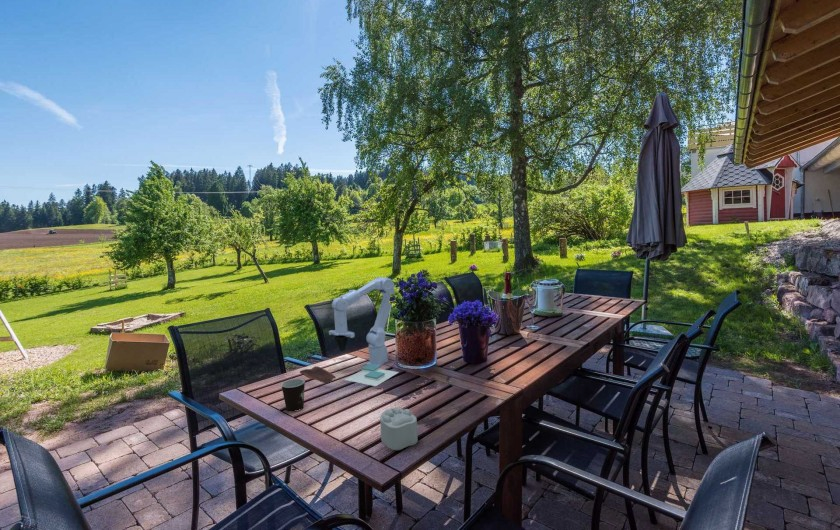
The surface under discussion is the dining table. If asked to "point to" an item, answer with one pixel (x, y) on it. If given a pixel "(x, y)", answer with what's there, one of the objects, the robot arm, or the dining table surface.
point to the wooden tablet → (318, 374)
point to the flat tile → (370, 368)
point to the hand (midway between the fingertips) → (342, 350)
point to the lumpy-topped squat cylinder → (398, 428)
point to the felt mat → (360, 378)
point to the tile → (374, 375)
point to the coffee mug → (293, 394)
